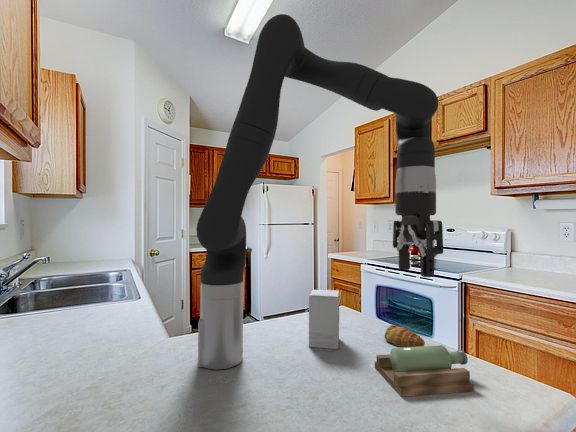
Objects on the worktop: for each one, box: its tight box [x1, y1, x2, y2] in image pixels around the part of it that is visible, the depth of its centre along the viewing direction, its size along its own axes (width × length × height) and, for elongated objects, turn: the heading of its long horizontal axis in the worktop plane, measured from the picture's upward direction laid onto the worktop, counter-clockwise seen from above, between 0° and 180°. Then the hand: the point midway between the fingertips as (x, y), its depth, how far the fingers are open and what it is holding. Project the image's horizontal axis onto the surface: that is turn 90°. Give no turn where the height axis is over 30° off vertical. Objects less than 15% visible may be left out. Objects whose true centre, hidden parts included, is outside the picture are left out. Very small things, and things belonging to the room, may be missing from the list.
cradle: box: [374, 353, 475, 398], centre depth 60 cm, size 14×11×3 cm
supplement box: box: [308, 289, 340, 350], centre depth 78 cm, size 7×7×13 cm
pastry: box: [384, 324, 426, 348], centre depth 78 cm, size 9×7×4 cm
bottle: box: [389, 344, 468, 372], centre depth 61 cm, size 14×5×5 cm, turn 98°
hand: (415, 273), depth 61 cm, fingers open, 8 cm apart
